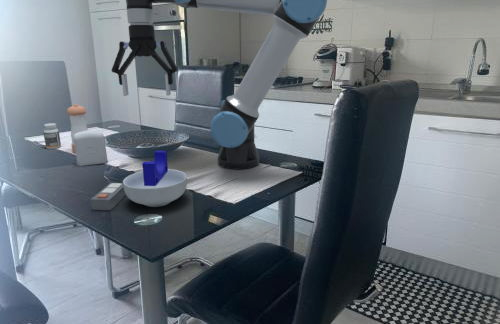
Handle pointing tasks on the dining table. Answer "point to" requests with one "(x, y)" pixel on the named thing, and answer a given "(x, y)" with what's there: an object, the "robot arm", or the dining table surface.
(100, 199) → the power strip
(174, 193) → the cereal bowl
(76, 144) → the photo printer
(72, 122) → the pepper shaker
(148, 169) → the blue bridge block
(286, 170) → the dining table surface
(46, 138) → the pill bottle
